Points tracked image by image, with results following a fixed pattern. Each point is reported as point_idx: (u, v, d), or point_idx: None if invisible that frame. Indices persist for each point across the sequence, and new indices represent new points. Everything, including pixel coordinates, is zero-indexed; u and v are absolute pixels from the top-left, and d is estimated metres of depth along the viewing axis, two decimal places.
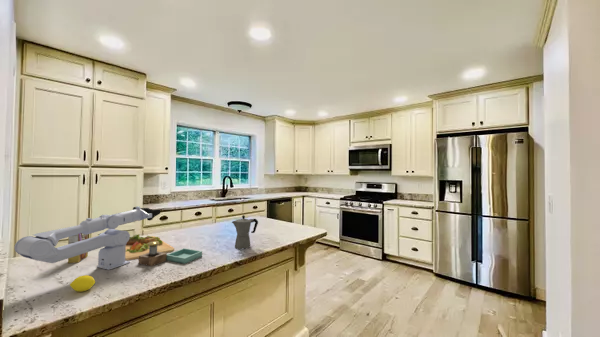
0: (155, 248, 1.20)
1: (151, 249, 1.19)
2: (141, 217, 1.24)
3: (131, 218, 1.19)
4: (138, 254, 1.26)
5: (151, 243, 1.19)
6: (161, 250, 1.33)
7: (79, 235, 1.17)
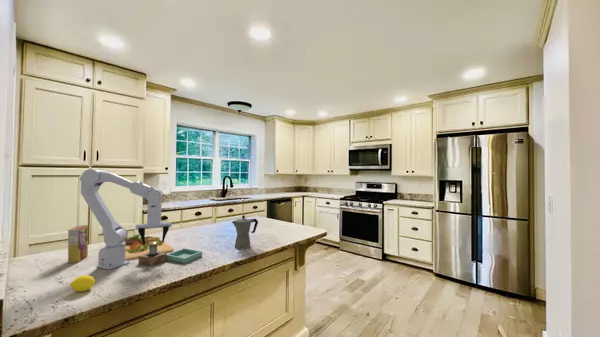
0: (155, 248, 1.20)
1: (151, 249, 1.19)
2: None
3: (152, 213, 1.18)
4: (137, 254, 1.26)
5: (151, 243, 1.19)
6: (160, 250, 1.33)
7: (79, 235, 1.17)
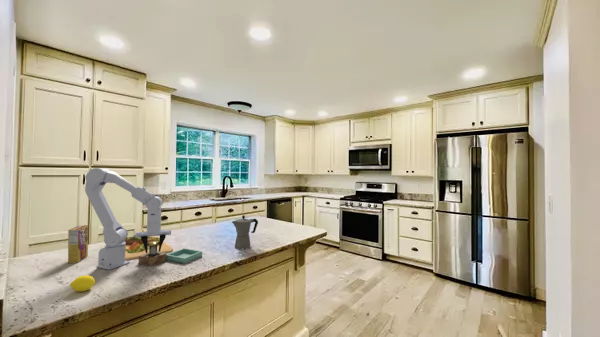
0: (155, 248, 1.20)
1: (151, 249, 1.19)
2: None
3: (151, 221, 1.18)
4: (136, 254, 1.25)
5: (151, 243, 1.19)
6: (159, 251, 1.32)
7: (79, 235, 1.17)
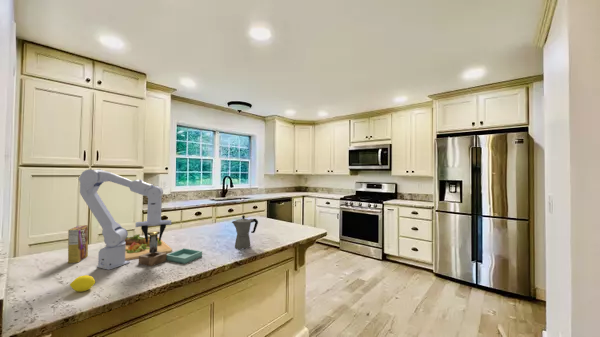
0: (155, 238, 1.20)
1: (151, 239, 1.19)
2: None
3: (152, 211, 1.18)
4: (134, 255, 1.25)
5: (151, 233, 1.19)
6: (158, 251, 1.32)
7: (79, 235, 1.17)
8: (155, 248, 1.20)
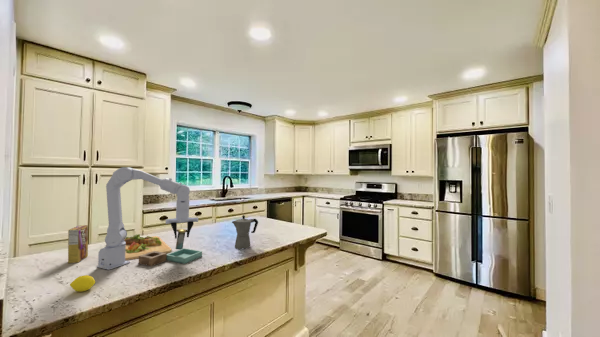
0: (183, 235, 1.25)
1: (179, 236, 1.24)
2: None
3: (181, 208, 1.23)
4: (134, 255, 1.25)
5: (180, 230, 1.25)
6: (157, 251, 1.31)
7: (79, 235, 1.17)
8: (181, 245, 1.25)
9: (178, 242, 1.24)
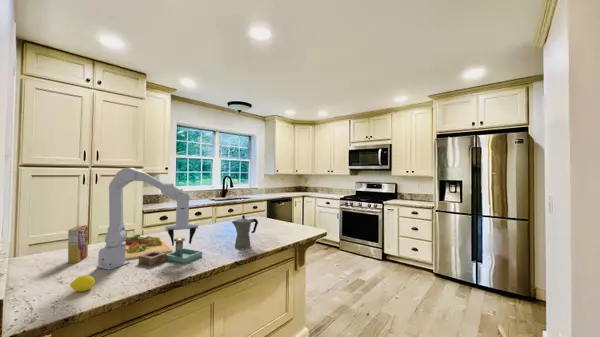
0: (181, 244, 1.25)
1: (177, 245, 1.24)
2: None
3: (181, 215, 1.23)
4: (134, 255, 1.25)
5: (177, 239, 1.24)
6: (158, 251, 1.31)
7: (79, 235, 1.17)
8: (181, 254, 1.25)
9: (177, 251, 1.24)
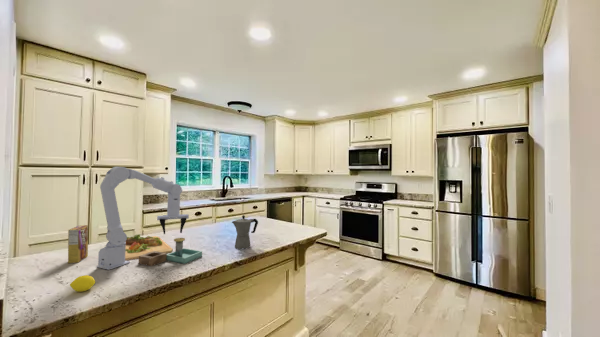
0: (181, 244, 1.25)
1: (177, 245, 1.24)
2: None
3: (175, 206, 1.31)
4: (135, 254, 1.25)
5: (177, 239, 1.24)
6: (159, 251, 1.32)
7: (79, 235, 1.17)
8: (181, 254, 1.25)
9: (177, 251, 1.24)
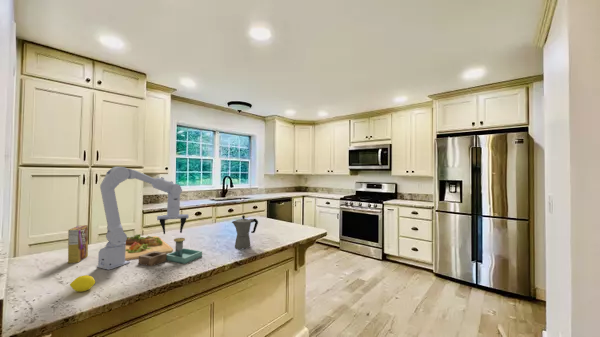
0: (181, 244, 1.25)
1: (177, 245, 1.24)
2: None
3: (175, 205, 1.31)
4: (135, 254, 1.25)
5: (177, 239, 1.24)
6: (159, 251, 1.32)
7: (79, 235, 1.17)
8: (181, 254, 1.25)
9: (177, 251, 1.24)
